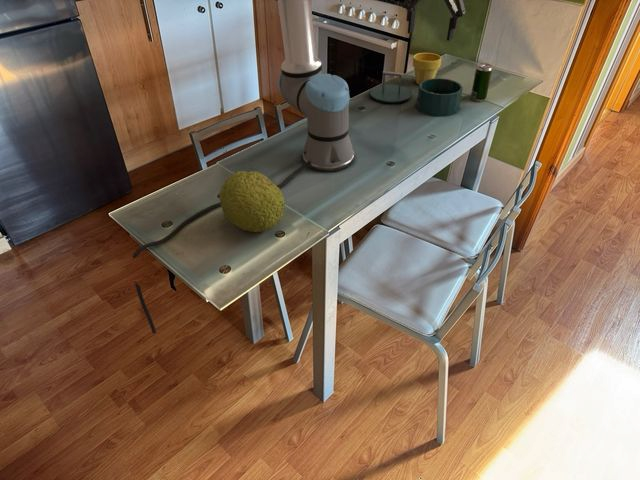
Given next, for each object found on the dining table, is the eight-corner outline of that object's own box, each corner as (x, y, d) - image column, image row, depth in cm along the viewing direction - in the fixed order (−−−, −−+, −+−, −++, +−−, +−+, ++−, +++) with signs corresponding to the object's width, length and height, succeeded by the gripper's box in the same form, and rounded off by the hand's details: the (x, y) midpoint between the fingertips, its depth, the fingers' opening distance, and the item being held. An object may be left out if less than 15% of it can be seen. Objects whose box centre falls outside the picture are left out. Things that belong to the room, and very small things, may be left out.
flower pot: (422, 75, 187) (425, 50, 181) (443, 82, 181) (447, 56, 175) (405, 82, 182) (407, 56, 176) (425, 89, 176) (428, 63, 170)
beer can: (479, 103, 166) (486, 69, 158) (467, 98, 169) (473, 65, 162) (489, 99, 168) (496, 65, 161) (477, 94, 172) (483, 61, 164)
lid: (407, 106, 165) (409, 82, 160) (365, 101, 169) (366, 77, 164) (415, 90, 176) (418, 66, 171) (375, 85, 180) (377, 62, 175)
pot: (455, 118, 157) (459, 97, 152) (413, 113, 161) (415, 92, 156) (461, 101, 168) (464, 80, 163) (421, 96, 172) (423, 76, 167)
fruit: (298, 212, 119) (295, 184, 105) (262, 254, 115) (254, 231, 101) (250, 177, 123) (241, 146, 109) (213, 217, 119) (199, 190, 105)
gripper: (486, -39, 132) (471, 39, 146) (407, -47, 144) (400, 26, 157) (476, -35, 128) (462, 45, 141) (395, -43, 139) (389, 32, 153)
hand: (429, 36), depth 149 cm, fingers open, 13 cm apart
